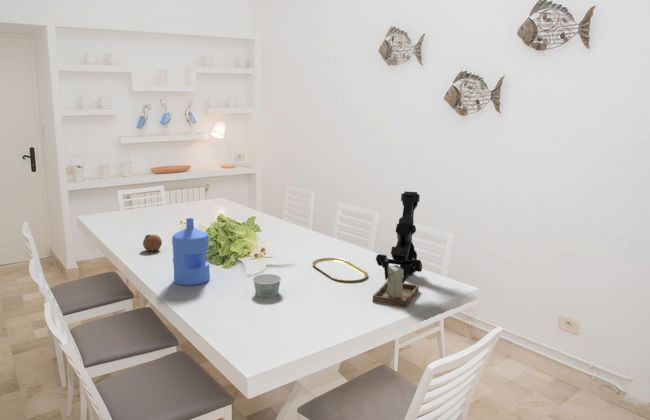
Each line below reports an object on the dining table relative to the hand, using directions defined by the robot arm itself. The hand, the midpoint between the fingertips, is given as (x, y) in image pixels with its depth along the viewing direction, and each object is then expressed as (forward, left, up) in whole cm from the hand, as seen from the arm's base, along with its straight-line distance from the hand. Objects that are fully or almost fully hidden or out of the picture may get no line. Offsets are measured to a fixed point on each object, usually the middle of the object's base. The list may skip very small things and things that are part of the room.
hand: (394, 281), depth 206 cm
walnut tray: (-4, 0, -8) cm, 9 cm away
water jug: (+18, -88, -8) cm, 90 cm away
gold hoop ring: (-24, -34, -9) cm, 43 cm away
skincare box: (-1, 0, -7) cm, 7 cm away
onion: (-9, -135, -8) cm, 135 cm away
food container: (+17, -50, -8) cm, 53 cm away
